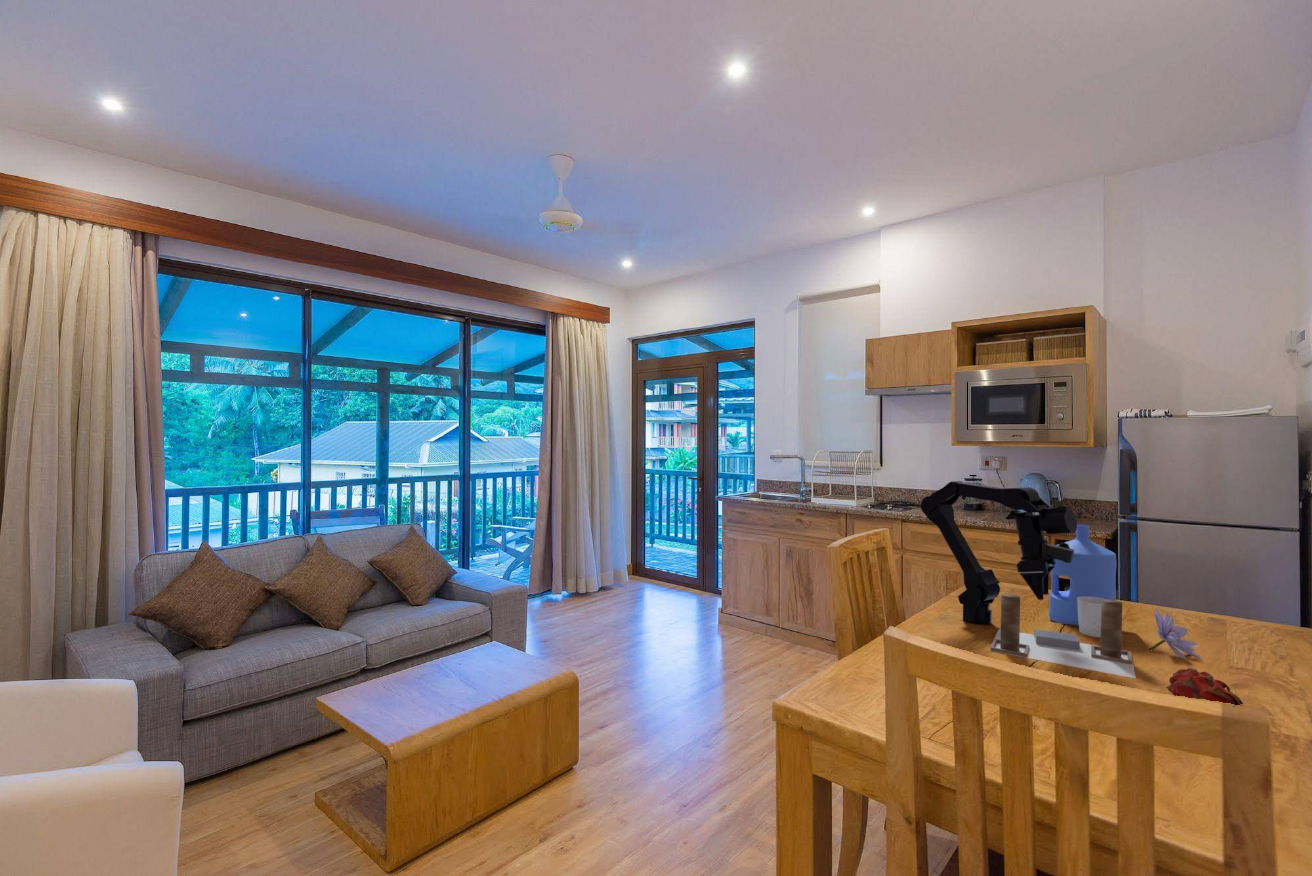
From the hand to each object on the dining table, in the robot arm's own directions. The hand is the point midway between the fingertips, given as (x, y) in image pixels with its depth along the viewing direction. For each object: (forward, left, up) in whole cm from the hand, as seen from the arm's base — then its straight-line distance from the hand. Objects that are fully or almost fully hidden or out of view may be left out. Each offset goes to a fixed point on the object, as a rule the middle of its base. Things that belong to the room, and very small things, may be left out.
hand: (1043, 597), depth 155 cm
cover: (+3, -1, -11) cm, 11 cm away
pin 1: (-6, -13, -11) cm, 18 cm away
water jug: (+8, +27, -12) cm, 31 cm away
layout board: (+4, -7, -12) cm, 15 cm away
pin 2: (+14, -3, -11) cm, 18 cm away
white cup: (+11, +14, -12) cm, 22 cm away
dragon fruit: (+28, -26, -12) cm, 40 cm away
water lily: (+27, +9, -12) cm, 31 cm away
